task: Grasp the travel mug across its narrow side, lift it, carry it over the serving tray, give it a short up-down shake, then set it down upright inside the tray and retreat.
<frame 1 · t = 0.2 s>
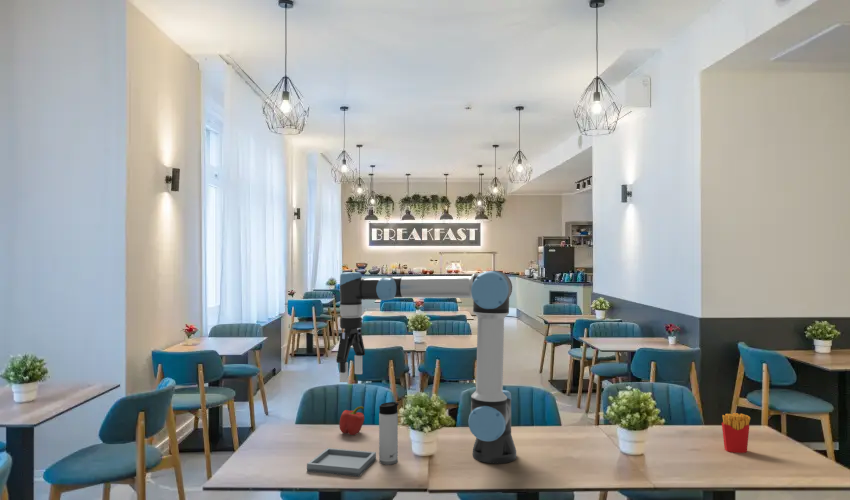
hand: (351, 378, 199), 28 cm above the table, fingers open, 13 cm apart
tray: (342, 465, 192), on the table
french fries: (736, 451, 205), on the table
travel mug: (388, 462, 195), on the table
vegetable: (352, 433, 227), on the table
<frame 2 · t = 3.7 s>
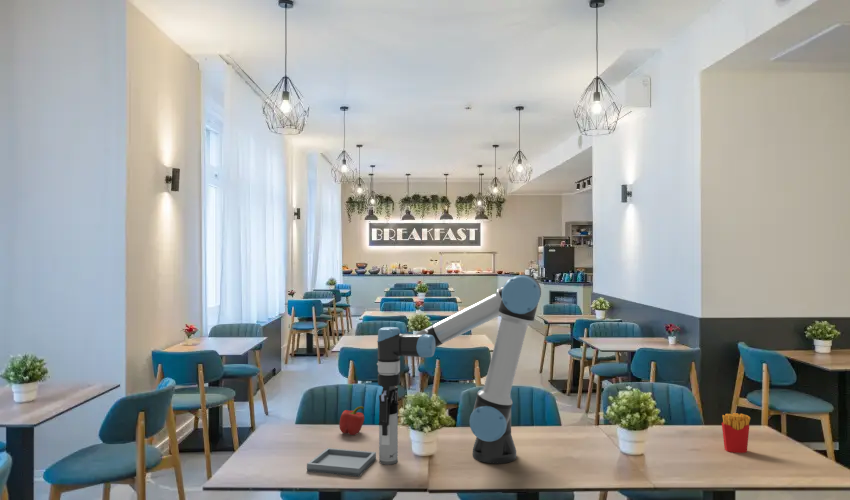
hand: (388, 441, 195), 7 cm above the table, fingers closed on travel mug, 6 cm apart
travel mug: (388, 462, 195), on the table, touching gripper
everything else where it was.
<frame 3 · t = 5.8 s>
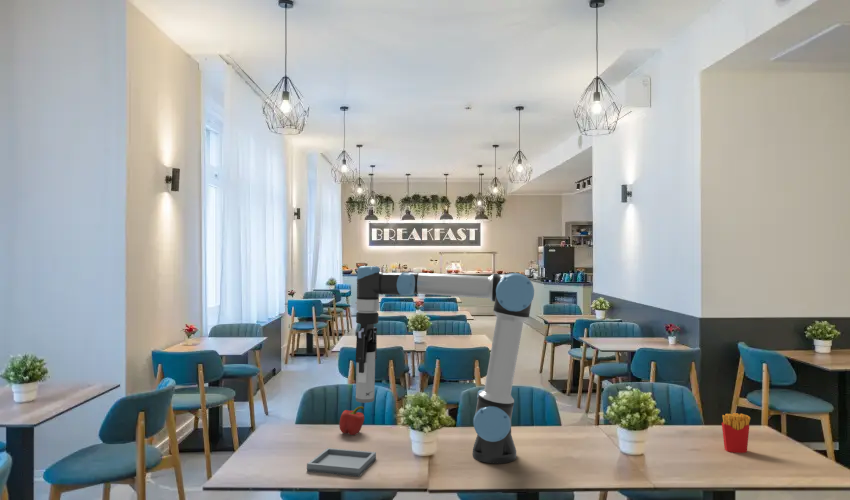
hand: (365, 380, 194), 28 cm above the table, fingers closed on travel mug, 6 cm apart
travel mug: (365, 401, 194), point 21 cm above the table, touching gripper
everything else where it was.
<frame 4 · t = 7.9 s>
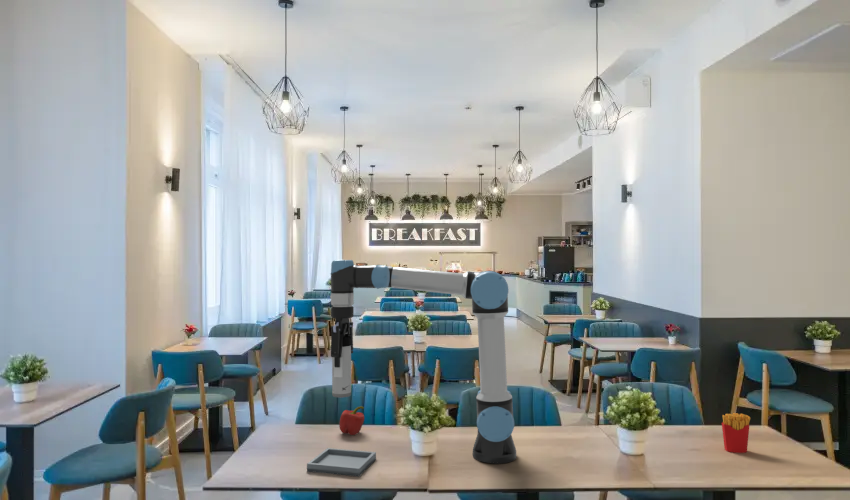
hand: (342, 374, 192), 30 cm above the table, fingers closed on travel mug, 6 cm apart
travel mug: (342, 396, 192), point 23 cm above the table, touching gripper
everything else where it was.
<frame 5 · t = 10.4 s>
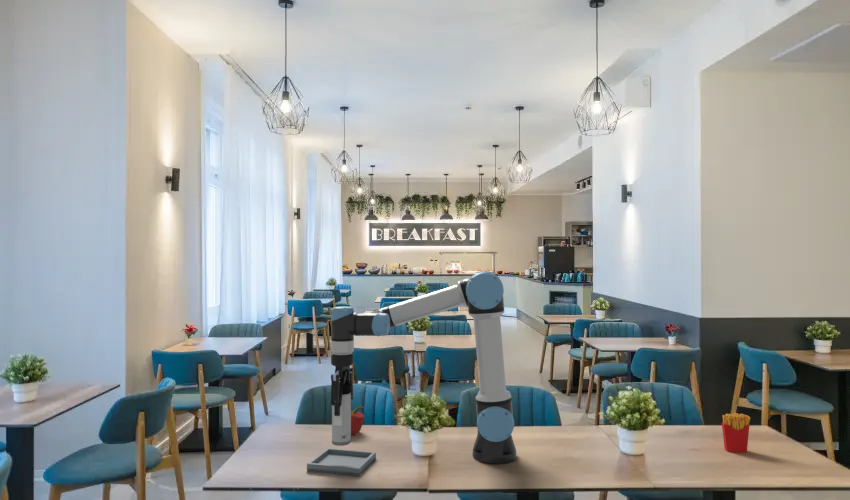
hand: (342, 422, 192), 14 cm above the table, fingers closed on travel mug, 6 cm apart
travel mug: (341, 443, 192), point 7 cm above the table, touching gripper
everything else where it was.
when the fingers open (9 cm above the table, at t = 12.3 s): travel mug drops 1 cm, resting on tray.
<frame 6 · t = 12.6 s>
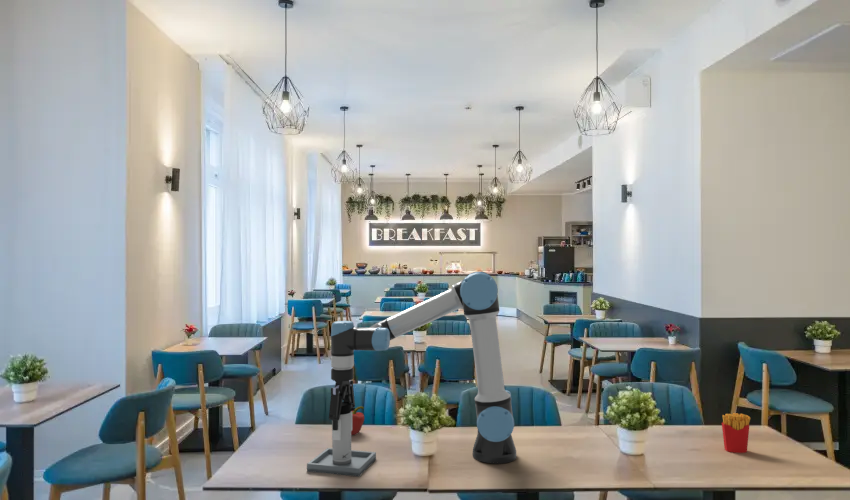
hand: (342, 434, 192), 10 cm above the table, fingers open, 9 cm apart
travel mug: (342, 462, 192), point 1 cm above the table, touching tray
everything else where it was.
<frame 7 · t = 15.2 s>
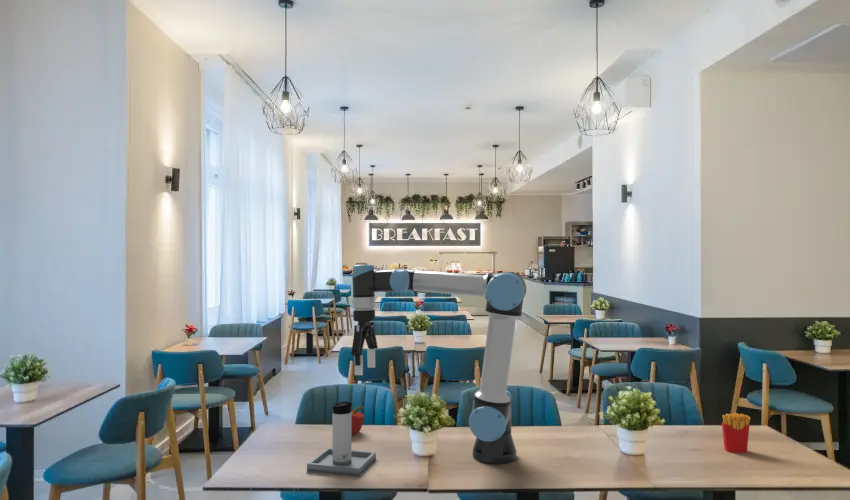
hand: (365, 371, 198), 30 cm above the table, fingers open, 13 cm apart
nothing on the table moved.
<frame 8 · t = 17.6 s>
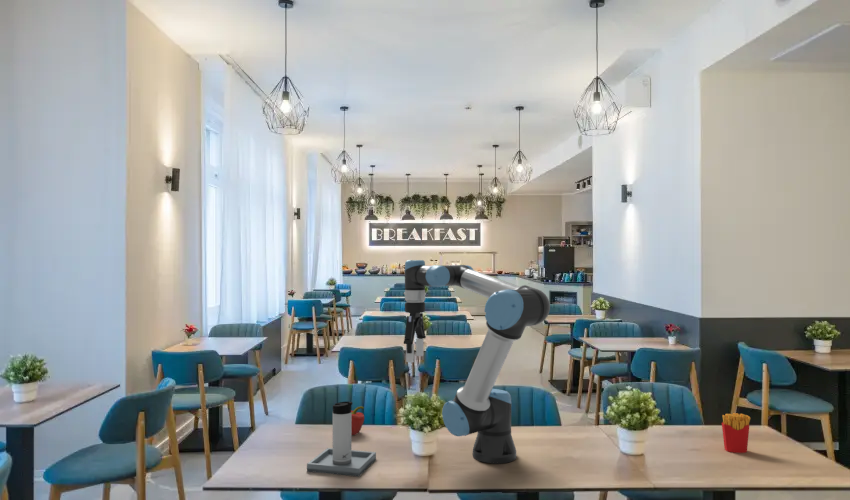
hand: (415, 359, 213), 32 cm above the table, fingers open, 13 cm apart
nothing on the table moved.
at the end: travel mug inside the target area on the tray (0.1 cm from its centre), point 0.8 cm above the tray's base; travel mug tilted 0°; the gripper is holding nothing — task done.
